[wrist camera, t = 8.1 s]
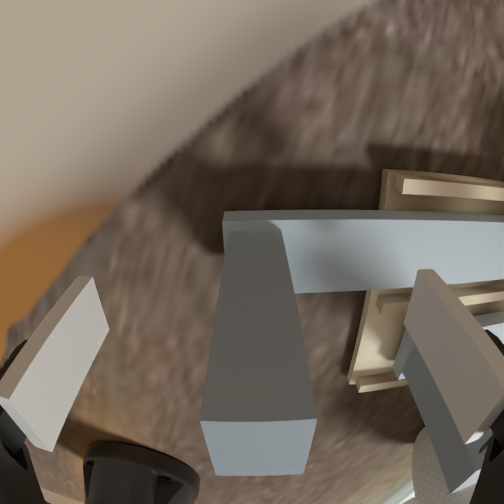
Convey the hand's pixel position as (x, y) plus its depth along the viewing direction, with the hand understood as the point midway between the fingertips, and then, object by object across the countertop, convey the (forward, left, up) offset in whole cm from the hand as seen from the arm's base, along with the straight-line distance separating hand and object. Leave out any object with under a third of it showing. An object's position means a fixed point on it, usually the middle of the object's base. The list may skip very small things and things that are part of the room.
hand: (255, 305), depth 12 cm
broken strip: (+16, -8, -5) cm, 18 cm away
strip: (+13, 0, -5) cm, 14 cm away
